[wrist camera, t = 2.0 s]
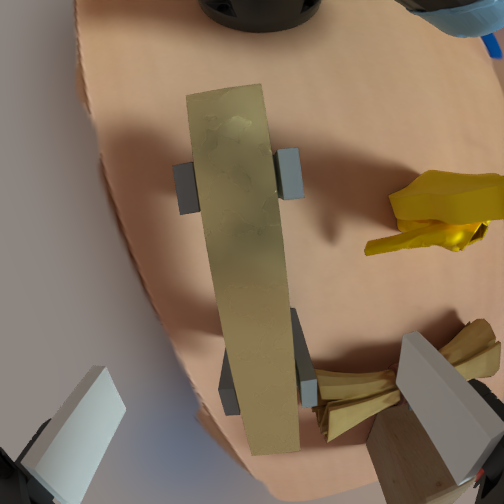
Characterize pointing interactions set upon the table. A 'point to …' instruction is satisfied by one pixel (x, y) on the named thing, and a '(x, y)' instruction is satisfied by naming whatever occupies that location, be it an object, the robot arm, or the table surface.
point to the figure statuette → (443, 211)
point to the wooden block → (410, 461)
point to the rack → (306, 380)
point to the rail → (247, 259)
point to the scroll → (384, 383)
